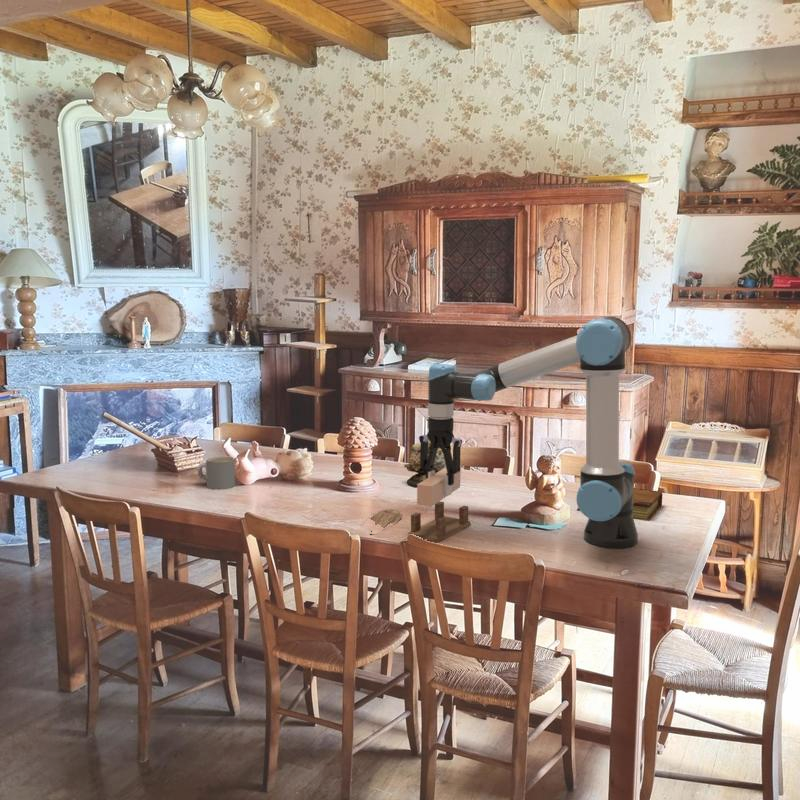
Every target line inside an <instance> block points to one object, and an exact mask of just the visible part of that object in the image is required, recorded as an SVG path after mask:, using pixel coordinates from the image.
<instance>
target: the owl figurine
mask: <svg viewBox="0 0 800 800" xmlns="http://www.w3.org/2000/svg"><path fill="white" fill-rule="evenodd" d="M430 445H431V442H430V441H429V440H428V456H429V452H430ZM420 447H421V443H420V442H419V443H418V442H417V443H414V444H412V446H411V453H410V456H409V459H408V460H409V463H404V466H403V467H404V468H406V469H407V471H408V472H412V473H413V472H414V473H416V474H414V475H412V476H411V477H409V479H407V481H406V483H407V485H408V486H409V487H412V488H417V484H419V483H420V482H422V481H424V480H425V479H426V470H425V469H423V468H420ZM445 467H446V464H445V459H444V454H443V452H442V449H440V448H438V450H437V453H436V457H435V461H434V465H433V468H434V469H432V470H435V473H437V472H439V471H440V470H442V469H444V468H445Z"/></svg>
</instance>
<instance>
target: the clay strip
mask: <svg viewBox="0 0 800 800" xmlns="http://www.w3.org/2000/svg"><path fill="white" fill-rule="evenodd" d="M461 471H462V470H461V467H460V472H458V473H455V474H454V484H453V485H451V494H453V492H455V491H456V490H458V489H459V488H461V474H462V473H461ZM445 474H447V469H446V467H445V468H444V469H442V470H440V471H439V472H437V473H435V474H434V475H432V476H430V477H429V478H427V479H425V480H424V481H422V482H420V483H419V484H417V487H416V488H417V489H416V504H417V505H416V506H423V507H429V508H430V507H431V508H432V507H433V506H435V504H436V503H438V502H442V501H443V500H444V499H445V498H446V497H447V496H445Z"/></svg>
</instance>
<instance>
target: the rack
mask: <svg viewBox="0 0 800 800" xmlns="http://www.w3.org/2000/svg"><path fill="white" fill-rule="evenodd" d="M458 509H459V510H458V511H459V512H458V513H459V515H458V518H457V517H451V516H446V515H445V502H444V501H439V502H438V503H436V504H435V505H434V519H432V520H431V521H429V522H427V523H425V524H423V525H421V523H422V522H421V521H422V520H421V519H422V518H421V517H422V516H421V514H422V513H421V512H414V513H412V514H411V515H410V531H409V532H408V533H407V536H408V535H409V534H414V535H416V536H419V537H421V538H423V539H427V540H430V541H429V542H432V541H434V542H433V543H437V542H438V543H440V542H442V541H443V540H445V539H447V538H449V537H451V536H453V535H454V534H456V533H458V532H461V530H463V529H466V528H468V527H469V526H471V520H469V506H467V505H463V506H460V507H459V508H458ZM427 540H426V541H427Z"/></svg>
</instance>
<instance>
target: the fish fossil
mask: <svg viewBox="0 0 800 800" xmlns="http://www.w3.org/2000/svg"><path fill="white" fill-rule="evenodd" d="M376 512H377V513H376ZM376 512H374V513H372V514H373V516H372V517H371V518H369V517H368V518H369V519H371V520H373V521H375V525H377V524H379V525H381V527H383V528H385V527H386V526H387V525H388V524H390V523H395V522H396V524H397V523H398V522H399V521H400V520H401V519H402V513H401V511H400V510H399V509H398V508H387V509H381V510H379V511H376ZM386 528H387V527H386ZM386 528H385V529H386Z"/></svg>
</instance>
